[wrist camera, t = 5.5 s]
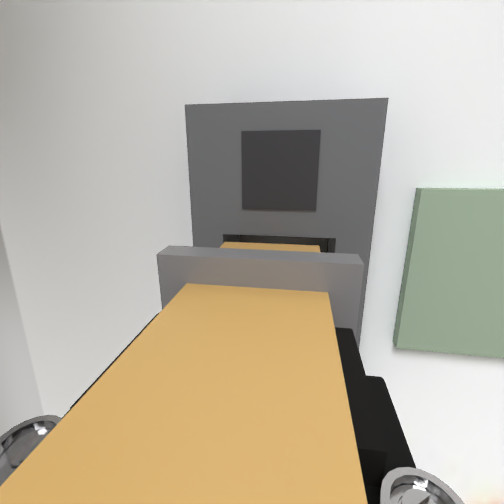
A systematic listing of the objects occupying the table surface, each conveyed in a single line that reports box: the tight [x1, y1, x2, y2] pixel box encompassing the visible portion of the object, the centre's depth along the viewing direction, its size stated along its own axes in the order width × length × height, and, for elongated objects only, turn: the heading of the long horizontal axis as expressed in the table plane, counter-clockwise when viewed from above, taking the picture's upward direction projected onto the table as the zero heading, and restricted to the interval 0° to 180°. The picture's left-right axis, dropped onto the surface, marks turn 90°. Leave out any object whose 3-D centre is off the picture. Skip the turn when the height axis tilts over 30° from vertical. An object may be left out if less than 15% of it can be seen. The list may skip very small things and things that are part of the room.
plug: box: [0, 242, 368, 504], centre depth 9 cm, size 6×6×13 cm
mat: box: [393, 188, 504, 358], centre depth 17 cm, size 10×10×1 cm
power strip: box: [185, 98, 388, 350], centre depth 17 cm, size 18×9×5 cm, turn 179°
